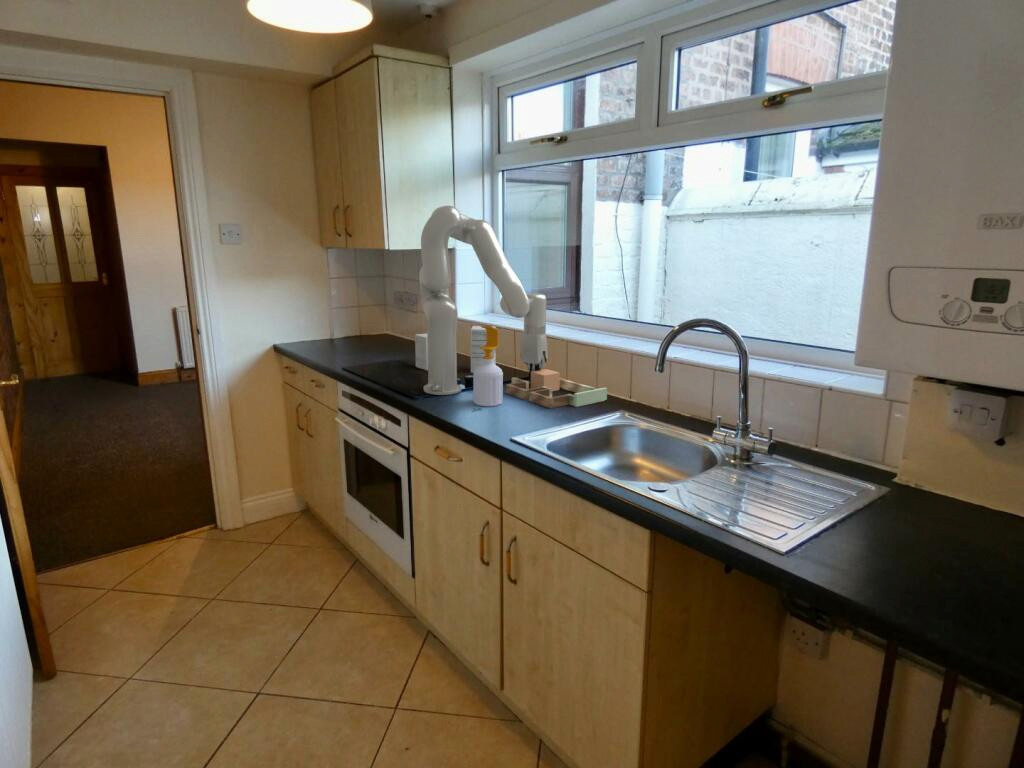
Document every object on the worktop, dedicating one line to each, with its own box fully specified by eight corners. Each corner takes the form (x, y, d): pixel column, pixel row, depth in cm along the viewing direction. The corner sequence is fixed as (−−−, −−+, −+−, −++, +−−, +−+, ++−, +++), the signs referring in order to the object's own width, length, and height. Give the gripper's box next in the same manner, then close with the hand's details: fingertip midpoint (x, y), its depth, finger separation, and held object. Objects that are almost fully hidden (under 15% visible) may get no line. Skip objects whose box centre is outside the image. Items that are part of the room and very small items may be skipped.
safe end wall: (573, 406, 194) (574, 393, 193) (603, 399, 202) (604, 387, 201) (576, 406, 193) (576, 394, 192) (606, 400, 201) (607, 388, 200)
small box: (440, 368, 245) (439, 335, 241) (426, 370, 241) (425, 337, 238) (429, 365, 251) (428, 332, 248) (415, 367, 247) (414, 334, 244)
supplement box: (494, 373, 237) (494, 329, 233) (470, 373, 237) (470, 329, 233) (495, 368, 246) (496, 325, 242) (472, 368, 246) (472, 325, 242)
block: (530, 388, 215) (530, 371, 214) (546, 385, 219) (546, 369, 218) (543, 392, 210) (543, 375, 208) (559, 389, 214) (559, 372, 212)
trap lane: (493, 389, 214) (494, 380, 213) (540, 380, 226) (541, 372, 226) (555, 410, 190) (555, 400, 189) (603, 399, 202) (604, 390, 202)
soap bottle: (468, 404, 195) (467, 325, 189) (483, 397, 202) (483, 322, 197) (493, 408, 191) (493, 328, 185) (507, 401, 198) (508, 324, 193)
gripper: (512, 328, 218) (511, 379, 222) (540, 333, 207) (539, 387, 211) (529, 326, 223) (528, 376, 227) (557, 331, 211) (556, 384, 216)
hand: (533, 381), depth 219 cm, fingers closed
